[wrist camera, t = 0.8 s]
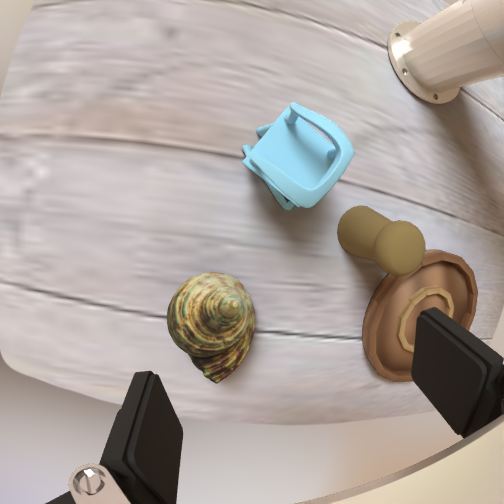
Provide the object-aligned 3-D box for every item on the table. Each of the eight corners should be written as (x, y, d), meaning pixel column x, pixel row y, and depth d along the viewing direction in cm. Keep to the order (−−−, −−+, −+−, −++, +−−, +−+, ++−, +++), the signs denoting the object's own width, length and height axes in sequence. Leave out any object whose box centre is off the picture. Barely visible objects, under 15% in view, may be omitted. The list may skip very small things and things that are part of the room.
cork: (327, 227, 35) (369, 249, 24) (364, 195, 34) (417, 205, 24) (354, 265, 36) (400, 298, 26) (389, 233, 36) (443, 255, 25)
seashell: (149, 316, 35) (127, 361, 26) (207, 246, 34) (201, 274, 24) (216, 363, 38) (215, 416, 28) (276, 302, 36) (294, 345, 27)
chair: (271, 111, 31) (295, 78, 19) (328, 158, 33) (378, 151, 21) (227, 165, 32) (228, 157, 20) (287, 211, 34) (319, 229, 22)
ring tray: (449, 222, 36) (460, 225, 34) (475, 320, 41) (484, 326, 39) (339, 306, 37) (346, 315, 35) (387, 392, 42) (393, 401, 40)
